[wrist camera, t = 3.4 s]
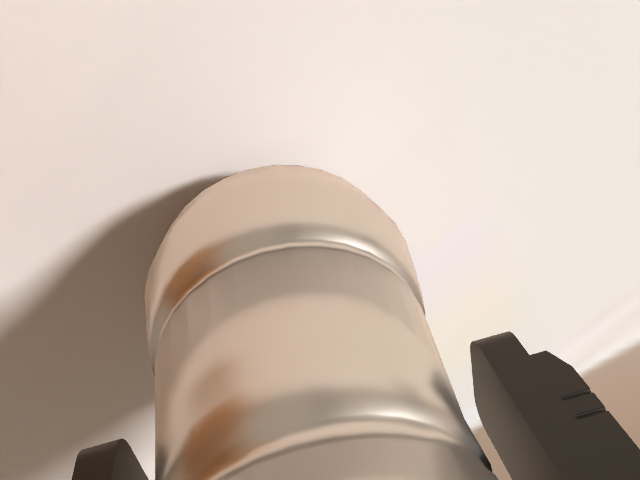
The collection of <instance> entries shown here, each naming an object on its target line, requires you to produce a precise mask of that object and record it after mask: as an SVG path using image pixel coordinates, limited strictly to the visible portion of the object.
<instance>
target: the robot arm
mask: <svg viewBox="0 0 640 480" xmlns="http://www.w3.org/2000/svg"><path fill="white" fill-rule="evenodd" d="M470 352H471V363H472V374H473V385H474V396H475V402H476V407H477V410H478V413H479V416H480V419H481V421H482V424H483V426H484V428H485V430H486V432H487V434H488V436H489V438H490V439H491V441H492V443H493V445H494V447H495V449H496V450H497V452H498V454H499V456H500V458H501V460H502V461H503V463H504V465H505V467H506V469H507V471H508V472H509V474H510V476H511V478H512V480H640V449H639V448H638V447H637V445H636V444H635V443H634V442H633V441H632V439H631V438H630V437H629V436H628V434H627V433H626V432H625V431H624V430H623V428H622V427H621V426H620V425H619V424H618V422H617V421H616V420H615V419H614V417H613V416H612V415H611V414H610V413H609V411H606V410H605V407H604V405H603V404H602V403H601V401H600V400H599V399H598V398H597V396H596V395H595V394H594V393H591V391H590V388H589V387H588V385H587V384H586V383H585V382H584V380H583V379H582V378H581V377H580V376H579V374H578V373H577V372H576V371H575V369H574V368H573V367H572V366H571V365H569V364H567V363H566V362H564V361H562V360H561V359H559V358H557V357H556V356H554V355H553V354H551V353H549V352H548V351H543V352H540V353H536V354H532V355H529V354H528V353H527V351H526V350H525V349H524V347H523V346H522V345H521V343H520V342H519V340H518V339H517V338H516V337H515V335H514V334H513V333H511V332H505V333H501V334H498V335H494V336H491V337H487V338H484V339H480V340H476V341H473V342H471V345H470ZM72 480H148V478H147V476H146V474H145V472H144V471H143V469H142V467H141V465H140V464H139V462H138V460H137V458H136V456H135V455H134V453H133V451H132V449H131V447H130V446H129V444H128V443H127V441H126V440H124V439H119V440H116V441H112V442H108V443H105V444H101V445H98V446H94V447H91V448H87V449H84V450H81V451H80V453H79V454H78V456H77V459H76V463H75V468H74V472H73V476H72Z"/></svg>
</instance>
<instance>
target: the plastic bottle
mask: <svg viewBox="0 0 640 480" xmlns="http://www.w3.org/2000/svg"><path fill="white" fill-rule="evenodd" d="M145 309H146V325H147V341H148V351H149V355H150V360H151V365H152V369H153V372H154V375H155V480H498V478H497V477H496V475H494V474H493V473H492V468H491V464H490V462H489V461H488V459H487V457H486V456H485V454H484V452H483V451H482V449H481V447H480V445H479V444H478V442H477V440H476V438H475V437H474V435H473V433H472V432H471V430H470V428H469V426H468V425H467V423H466V421H465V419H464V417H463V414H462V412H461V409H460V407H459V404H458V401H457V399H456V396H455V394H454V391H453V388H452V386H451V383H450V381H449V378H448V375H447V373H446V370H445V368H444V365H443V362H442V360H441V357H440V355H439V352H438V350H437V347H436V344H435V342H434V339H433V337H432V334H431V331H430V329H429V326H428V324H427V321H426V318H425V309H424V304H423V298H422V292H421V289H420V285H419V282H418V278H417V275H416V271H415V268H414V265H413V262H412V259H411V256H410V253H409V250H408V246H407V243H406V241H405V239H404V237H403V236H402V234H401V232H400V231H399V229H398V227H397V225H396V224H395V222H394V221H393V220H392V219H391V218H390V217H389V216H388V215H387V214H386V213H385V212H384V211H383V210H382V209H381V208H380V207H379V206H378V205H377V204H376V203H375V202H374V201H372V200H371V199H370V198H369V197H368V196H367V195H366V194H364V193H363V192H362V191H361V190H360V189H358V188H357V187H355V186H354V185H352V184H351V183H349V182H348V181H346V180H345V179H343V178H341V177H338V176H336V175H333V174H331V173H328V172H326V171H323V170H320V169H315V168H310V167H304V166H299V165H271V166H265V167H260V168H254V169H248V170H245V171H243V172H240V173H237V174H234V175H232V176H229V177H226V178H224V179H222V180H220V181H219V182H217V183H215V184H214V185H212V186H210V187H208V188H207V189H205V190H203V191H202V192H201V193H200V194H199V195H197V196H196V197H195V198H194V199H193V200H192V201H191V202H189V203H188V204H187V205H186V206H185V207H184V208H183V210H182V211H181V212H180V214H179V215H178V216H177V217H176V219H175V220H174V221H173V223H172V224H171V226H170V228H169V230H168V232H167V233H166V235H165V237H164V239H163V241H162V243H161V245H160V247H159V249H158V251H157V253H156V255H155V258H154V260H153V262H152V264H151V266H150V268H149V272H148V277H147V282H146V287H145Z"/></svg>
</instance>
